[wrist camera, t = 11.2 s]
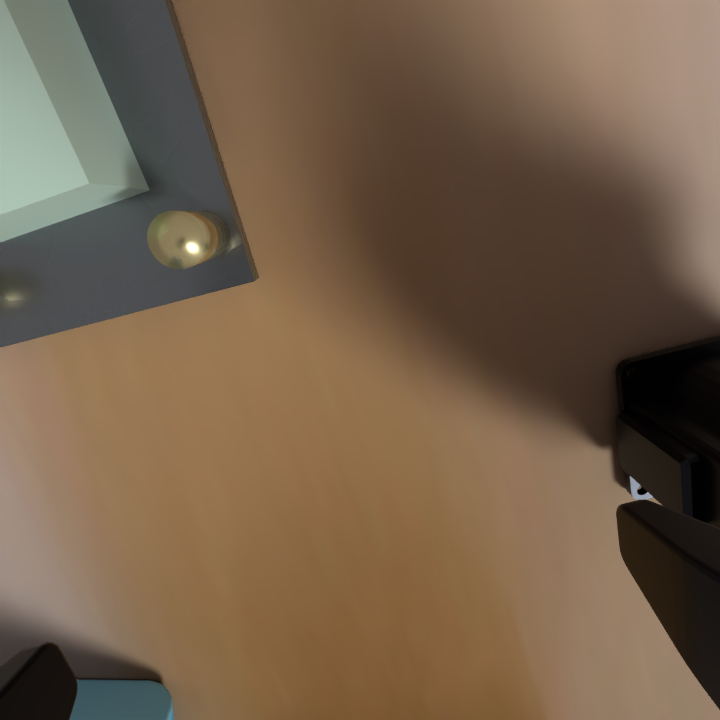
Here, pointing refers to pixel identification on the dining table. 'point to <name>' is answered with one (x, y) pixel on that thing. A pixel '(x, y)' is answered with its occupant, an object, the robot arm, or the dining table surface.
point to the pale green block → (55, 123)
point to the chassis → (140, 212)
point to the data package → (122, 700)
